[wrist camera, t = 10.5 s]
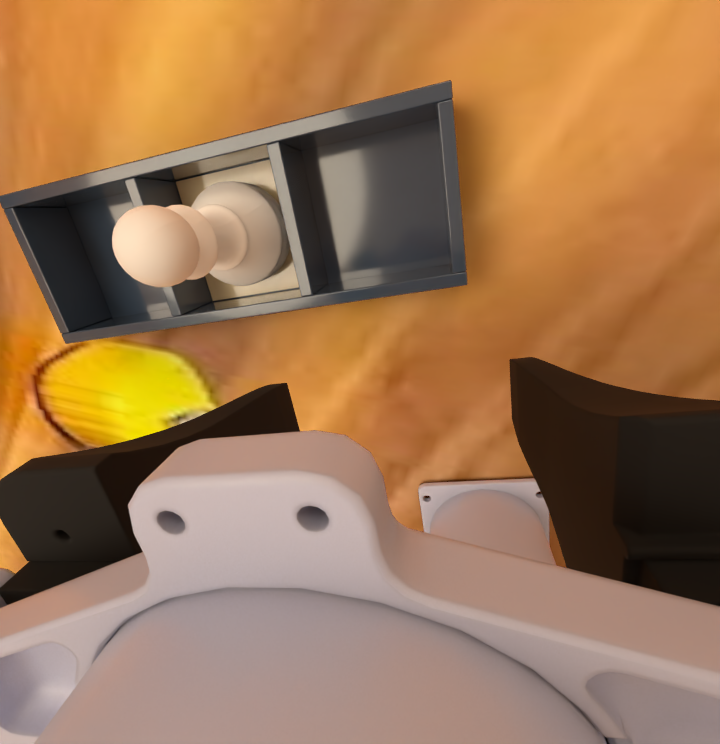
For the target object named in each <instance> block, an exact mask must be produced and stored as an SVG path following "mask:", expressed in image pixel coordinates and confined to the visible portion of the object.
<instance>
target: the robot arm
mask: <svg viewBox="0 0 720 744" xmlns="http://www.w3.org/2000/svg"><path fill="white" fill-rule="evenodd" d="M510 381H511V404H512V420H513V424H514V428H515V431H516V435H517V439H518V442H519V445H520V447H521V450H522V452H523V454H524V456H525V459H526V461H527V463H528V465H529V467H530V470H531V472H532V474H533V476H534V478H529V479H506V480H482V481H459V482H436V483H423V484H421V485H420V486H419V488H418V494H419V500H420V507H421V514H422V520H423V527H424V532H421V531H417V530H413V529H410V528H407V527H405V526H404V525H402V524H400V523H399V522H398V521H397V520H396V519H395V518H394V516H393V515H392V512H391V510H390V507H389V504H388V500H387V494H386V489H385V484H384V479H383V475H382V473H381V471H380V469H379V468H378V466H377V464H376V462H375V460H374V458H373V456H372V454H371V452H369V451H368V450H367V449H365V448H364V447H362V446H361V445H359V444H358V443H356V442H355V441H353V440H352V439H350V438H349V437H348V436H346V435H342V434H335V433H329V432H323V431H316V430H313V431H300V430H299V426H298V423H297V419H296V415H295V412H294V408H293V404H292V400H291V397H290V393H289V389H288V385H287V383H281V384H272V385H267V386H264V387H261V388H258V389H256V390H254V391H252V392H249V393H247V394H245V395H243V396H241V397H239V398H237V399H235V400H233V401H231V402H229V403H227V404H225V405H223V406H221V407H219V408H216V409H214V410H212V411H210V412H208V413H206V414H203V415H201V416H199V417H197V418H195V419H192V420H190V421H187V422H185V423H182V424H179V425H177V426H174V427H171V428H169V429H166V430H163V431H160V432H156V433H153V434H150V435H146V436H143V437H140V438H136V439H133V440H129V441H125V442H121V443H117V444H113V445H108V446H104V447H99V448H94V449H89V450H84V451H78V452H72V453H65V454H59V455H53V456H46V457H39V458H34V459H31V460H29V461H28V462H26V463H25V464H23V465H22V466H20V467H19V468H17V469H16V470H14V471H13V472H11V473H10V474H8V475H7V476H5V477H4V478H2V479H1V480H0V518H1V520H2V522H3V524H4V525H5V527H6V529H7V530H8V532H9V533H10V535H11V536H12V538H13V540H14V541H15V543H16V544H17V546H18V547H19V549H20V550H21V552H22V554H23V555H24V557H25V558H26V560H27V561H30V562H28V563H27V564H26V565H25V566H24V567H23V568H22V569H21V570H19V571H18V572H17V573H16V574H15V573H13V572H12V571H10V570H8V569H4V568H0V744H720V401H716V400H701V399H690V398H680V397H672V396H665V395H658V394H651V393H645V392H640V391H634V390H630V389H626V388H621V387H617V386H613V385H609V384H605V383H602V382H599V381H596V380H593V379H590V378H586V377H583V376H581V375H578V374H575V373H573V372H570V371H567V370H565V369H562V368H560V367H557V366H555V365H553V364H550V363H548V362H545V361H543V360H540V359H537V358H533V357H528V358H518V359H510ZM540 491H541V494H536V493H537V492H540ZM424 496H429V498H425V497H424ZM549 513H550V515H551V518H552V522H553V525H554V528H555V531H556V534H557V537H558V540H559V544H560V547H561V550H562V553H563V557H564V560H565V563H566V567H567V568H565V567H561V566H557V565H556V563H555V560H554V558H553V555H552V552H551V549H550V546H549Z"/></svg>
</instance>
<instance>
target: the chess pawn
mask: <svg viewBox="0 0 720 744" xmlns="http://www.w3.org/2000/svg"><path fill="white" fill-rule="evenodd" d="M112 247H113V251H114V254H115V257H116V259H117V261H118V263H119V264H120V265H121V267H122V268H123V269H124V270H125V272H127V273H128V274H129V275H130V276H131V277H132V278H134V279H136V280H138V281H139V282H141V283H143V284H146V285H150V286H154V287H170V286H173V285H176V284H179V283H182V282H183V281H185V280H186V279H187V280H193V279H199V278H201V277H204V276H205V275H207V274H208V273H210V274H211V275H212V276H213V277H215V278H217V279H219V280H220V281H222V282H224V283H227V284H231V285H235V286H249V285H252V284H255V283H258V282H260V281H262V280H265V279H267V278H269V277H270V276H272V275H273V274H275V273H276V272H277V271H278V270H279V269H280V268H281V266H282V265H283V264H284V262H285V260H286V257H287V255H288V252H289V247H290V246H289V241H288V237H287V233H286V228H285V224H284V220H283V215H282V211H281V207H280V205H279V204H278V202H277V201H276V200H275V199H274V198H273V197H272V196H271V195H270V194H269V193H268V192H267V191H265V190H263V189H261V188H259V187H257V186H256V185H252V184H247V183H243V182H235V181H225V182H218V183H216V184H213V185H211V186H208V187H207V188H206V189H205V190H203V191H202V192H201V193H200V194H199V195H198V196H197V198H196V200H195V201H194V203H193V204H192V206H191V207H189V206H185V205H171V206H168V207H166V208H165V207H161V206H157V205H144V206H138V207H136V208H133V209H131V210H129V211H127V212H126V213H125V214H124V215H123V216H121V217H120V218H119V220H118V221H117V223H116V225H115V227H114V230H113V235H112Z"/></svg>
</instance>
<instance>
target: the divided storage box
mask: <svg viewBox="0 0 720 744" xmlns="http://www.w3.org/2000/svg"><path fill="white" fill-rule="evenodd" d="M452 98H453V94H452V82H451V80H449V81H445V82H441V83H437V84H433V85H429V86H426V87H422V88H418V89H414V90H410V91H406V92H402V93H398V94H394V95H390V96H387V97H383V98H379V99H375V100H371V101H367V102H363V103H359V104H355V105H352V106H348V107H344V108H340V109H336V110H332V111H328V112H324V113H320V114H317V115H313V116H309V117H305V118H301V119H297V120H293V121H289V122H285V123H281V124H278V125H274V126H270V127H266V128H262V129H258V130H254V131H250V132H246V133H243V134H239V135H235V136H231V137H227V138H223V139H219V140H215V141H211V142H207V143H204V144H200V145H196V146H192V147H188V148H184V149H180V150H176V151H172V152H169V153H165V154H161V155H157V156H153V157H149V158H145V159H141V160H137V161H133V162H130V163H126V164H122V165H118V166H114V167H110V168H106V169H102V170H98V171H95V172H91V173H87V174H83V175H79V176H75V177H71V178H67V179H63V180H60V181H56V182H52V183H48V184H44V185H40V186H36V187H32V188H28V189H24V190H21V191H17V192H13V193H9V194H5V195H1V196H0V204H1V206H2V208H3V209H4V212H5V214H6V216H7V218H8V221H9V223H10V225H11V227H12V229H13V231H14V233H15V236H16V238H17V240H18V242H19V244H20V246H21V248H22V251H23V253H24V255H25V257H26V259H27V261H28V263H29V266H30V268H31V270H32V272H33V274H34V276H35V279H36V281H37V283H38V285H39V287H40V289H41V291H42V294H43V296H44V298H45V300H46V302H47V304H48V306H49V309H50V311H51V313H52V315H53V317H54V319H55V322H56V324H57V326H58V328H59V330H60V332H61V333H63V334H62V337H63V339H64V341H65V343H66V344H69V343H76V342H83V341H89V340H96V339H103V338H110V337H117V336H123V335H130V334H137V333H144V332H151V331H158V330H164V329H171V328H178V327H185V326H192V325H198V324H205V323H212V322H219V321H226V320H233V319H239V318H246V317H253V316H260V315H267V314H273V313H280V312H287V311H294V310H301V309H308V308H314V307H321V306H328V305H335V304H342V303H348V302H355V301H362V300H369V299H376V298H383V297H389V296H396V295H403V294H410V293H417V292H424V291H430V290H437V289H444V288H451V287H458V286H464V285H467V284H468V282H467V272H466V270H467V269H466V257H465V244H464V232H463V219H462V207H461V194H460V182H459V169H458V157H457V144H456V132H455V119H454V107H453V100H452ZM225 181H235V182H243V183H247V184H252V185H256V186H257V187H259V188H261V189H263V190H265V191H267V192H268V193H269V194H270V195H271V196H272V197H273V198H274V199H275V200H276V201H277V202H278V204H279V205H280V207H281V211H282V215H283V220H284V224H285V228H286V233H287V237H288V241H289V246H290V247H289V252H288V255H287V257H286V260H285V262H284V264H283V265H282V266H281V268H280V269H279V270H278V271H277V272H276V273H275V274H273V275H272V276H270V277H269V278H267V279H265V280H262V281H260V282H258V283H255V284H252V285H249V286H235V285H231V284H227V283H224V282H222V281H220V280H219V279H217V278H215V277H213V276H212V275H211V274H210V273H208V274H207V275H205V276H204V277H201V278H199V279H193V280H187V279H186V280H185V281H183V282H182V283H179V284H176V285H173V286H170V287H154V286H150V285H146V284H143V283H141V282H139V281H138V280H136V279H134V278H132V277H131V276H130V275H129V274H128V273H127V272H125V270H124V269H123V268H122V267H121V265H120V264H119V263H118V261H117V259H116V257H115V254H114V251H113V247H112V235H113V230H114V227H115V225H116V223H117V221H118V220H119V218H120V217H121V216H123V215H124V214H125V213H126V212H127V211H129V210H131V209H133V208H136V207H138V206H144V205H157V206H161V207H165V208H166V207H168V206H171V205H185V206H189V207H191V206H192V204H193V203H194V201H195V200H196V198H197V196H198V195H199V194H200V193H201V192H202V191H203V190H205V189H206V188H207V187H208V186H211V185H213V184H216V183H218V182H225Z"/></svg>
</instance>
